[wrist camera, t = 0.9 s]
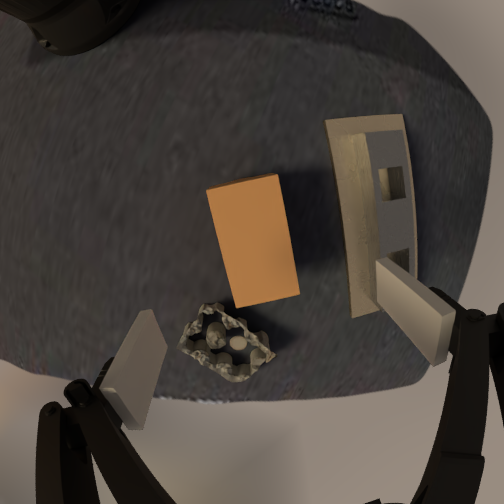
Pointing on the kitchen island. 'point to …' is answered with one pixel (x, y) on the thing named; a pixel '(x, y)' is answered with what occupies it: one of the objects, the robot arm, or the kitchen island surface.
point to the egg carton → (218, 339)
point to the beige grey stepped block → (373, 201)
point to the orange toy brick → (254, 239)
